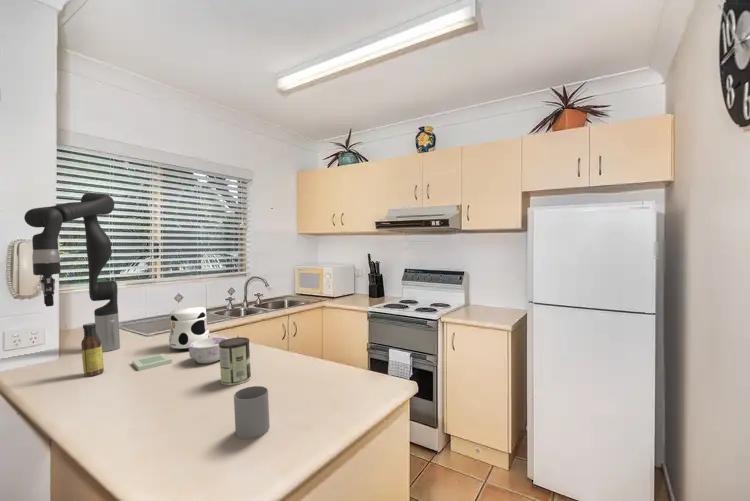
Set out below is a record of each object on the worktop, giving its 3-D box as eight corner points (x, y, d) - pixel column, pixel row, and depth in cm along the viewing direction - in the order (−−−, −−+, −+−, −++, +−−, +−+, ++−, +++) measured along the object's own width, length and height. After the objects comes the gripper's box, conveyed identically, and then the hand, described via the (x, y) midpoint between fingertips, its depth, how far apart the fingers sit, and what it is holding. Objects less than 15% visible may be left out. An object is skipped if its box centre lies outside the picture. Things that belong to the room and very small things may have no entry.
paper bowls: (181, 364, 148) (180, 345, 148) (210, 353, 162) (209, 335, 162) (208, 367, 142) (207, 348, 142) (236, 356, 156) (235, 338, 156)
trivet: (132, 364, 150) (131, 360, 150) (164, 356, 159) (163, 353, 159) (138, 370, 142) (138, 366, 142) (172, 362, 150) (171, 359, 150)
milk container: (162, 349, 171) (160, 311, 170) (198, 340, 185) (196, 305, 184) (181, 354, 161) (179, 315, 160) (217, 344, 175) (215, 308, 175)
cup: (241, 423, 97) (239, 387, 97) (272, 421, 98) (270, 385, 98) (231, 440, 89) (229, 401, 89) (265, 438, 89) (263, 398, 89)
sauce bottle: (108, 371, 143) (105, 321, 142) (94, 377, 136) (91, 325, 136) (93, 371, 143) (90, 321, 143) (78, 377, 137) (75, 325, 136)
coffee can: (236, 373, 136) (234, 336, 135) (257, 376, 131) (255, 338, 131) (213, 383, 126) (212, 343, 126) (235, 387, 122) (233, 346, 122)
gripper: (32, 262, 136) (34, 304, 136) (33, 262, 126) (35, 308, 126) (58, 261, 141) (60, 302, 141) (61, 261, 131) (63, 305, 131)
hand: (49, 305), depth 134 cm, fingers open, 8 cm apart
